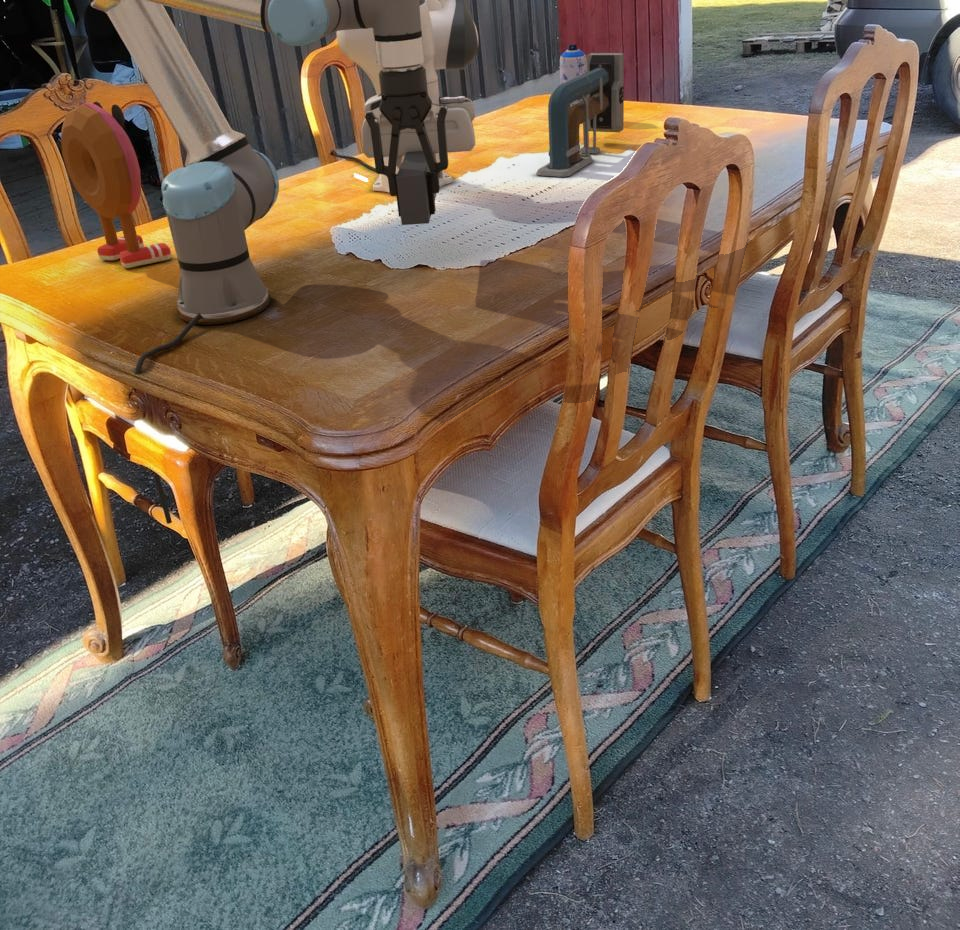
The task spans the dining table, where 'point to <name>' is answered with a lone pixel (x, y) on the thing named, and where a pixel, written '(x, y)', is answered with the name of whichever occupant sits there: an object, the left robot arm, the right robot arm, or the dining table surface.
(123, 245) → the toy
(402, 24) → the left robot arm
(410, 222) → the bar
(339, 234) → the dining table surface
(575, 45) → the aerosol can
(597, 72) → the clamp
